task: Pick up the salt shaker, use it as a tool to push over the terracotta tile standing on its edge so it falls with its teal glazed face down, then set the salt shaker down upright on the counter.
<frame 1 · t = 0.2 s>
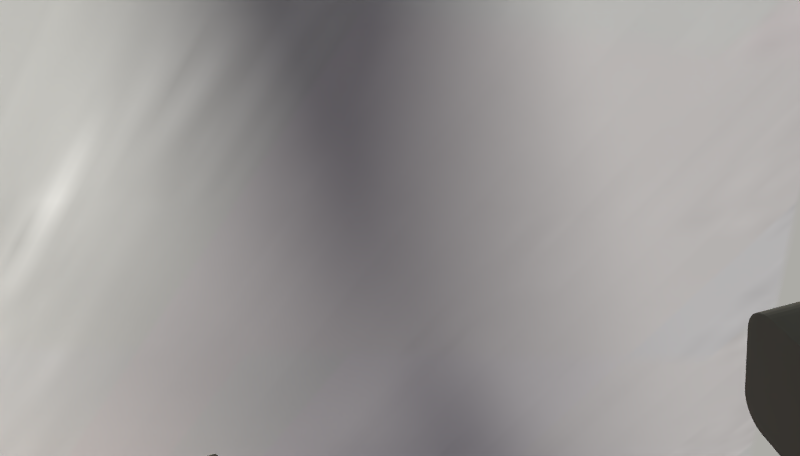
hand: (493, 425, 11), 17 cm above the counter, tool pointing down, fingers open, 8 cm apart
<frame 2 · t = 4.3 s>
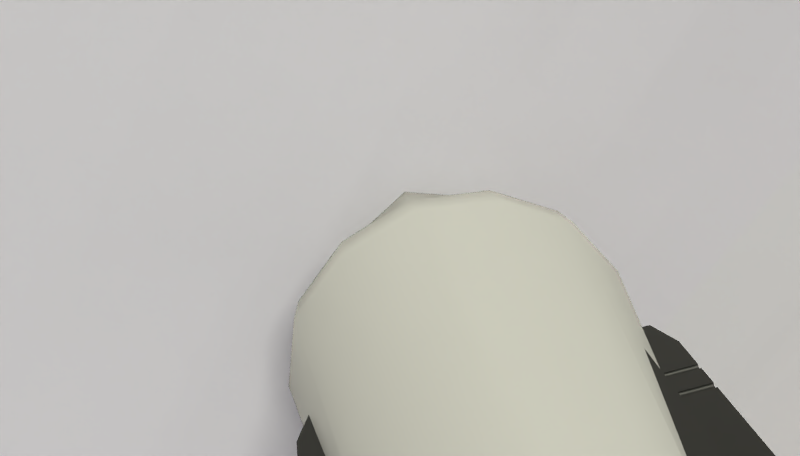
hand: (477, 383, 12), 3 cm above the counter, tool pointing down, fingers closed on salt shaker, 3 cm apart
salt shaker: (431, 277, 15), on the counter, touching gripper
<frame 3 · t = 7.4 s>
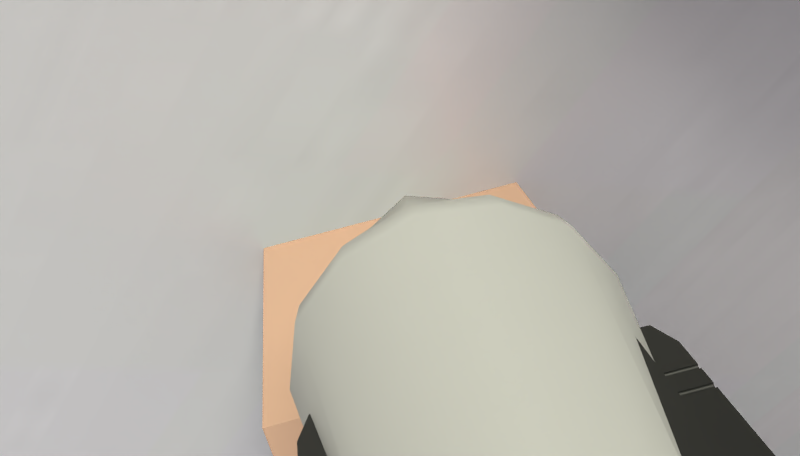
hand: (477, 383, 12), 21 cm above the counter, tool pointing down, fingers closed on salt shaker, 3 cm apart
tile: (395, 233, 34), on the counter
salt shaker: (431, 280, 15), point 18 cm above the counter, touching gripper
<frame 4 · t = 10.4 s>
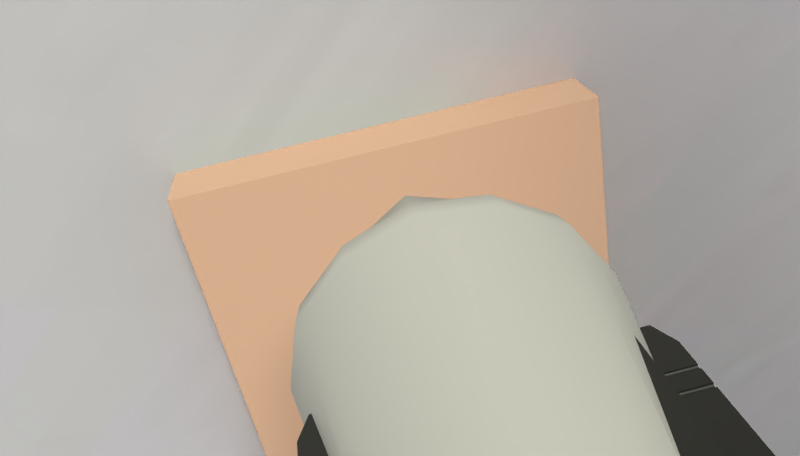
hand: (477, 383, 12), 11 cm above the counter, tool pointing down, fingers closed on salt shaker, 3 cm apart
tile: (381, 135, 21), point 1 cm above the counter, tilted 90°
salt shaker: (432, 280, 15), point 8 cm above the counter, touching gripper
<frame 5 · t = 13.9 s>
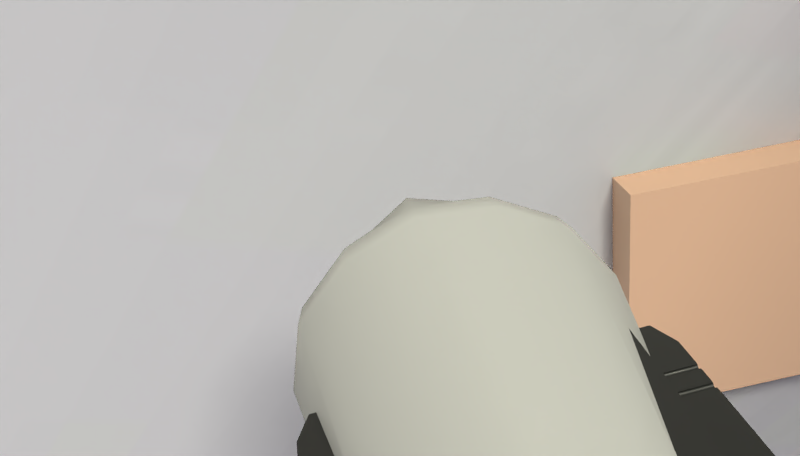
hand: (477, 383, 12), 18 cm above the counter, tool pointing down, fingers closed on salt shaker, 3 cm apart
tile: (754, 158, 31), point 1 cm above the counter, tilted 90°
salt shaker: (433, 281, 15), point 15 cm above the counter, touching gripper
when the fingers open (4 cm above the counter, at t = 17.1 s): salt shaker drops 1 cm, on the counter.
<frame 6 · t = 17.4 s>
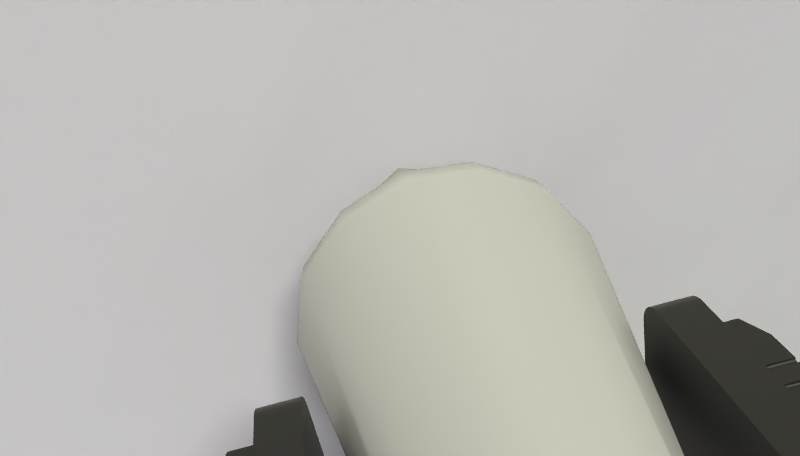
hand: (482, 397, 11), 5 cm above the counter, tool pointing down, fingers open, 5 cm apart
salt shaker: (425, 247, 16), on the counter
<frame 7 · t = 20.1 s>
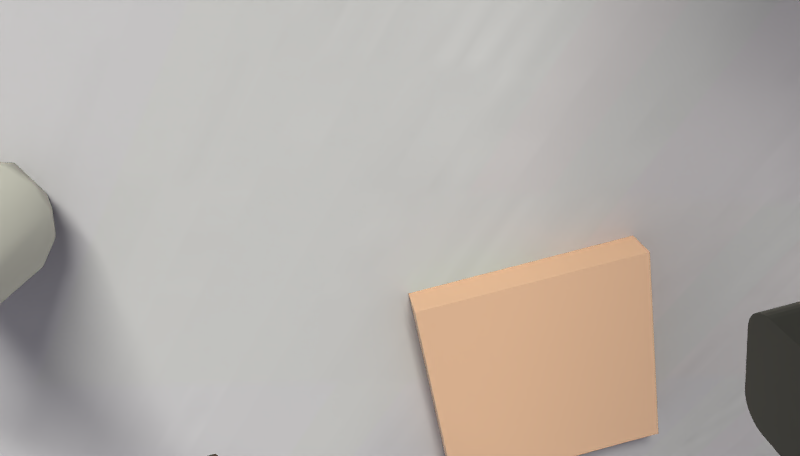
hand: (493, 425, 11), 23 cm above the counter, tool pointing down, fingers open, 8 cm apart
tile: (526, 272, 37), point 1 cm above the counter, tilted 90°
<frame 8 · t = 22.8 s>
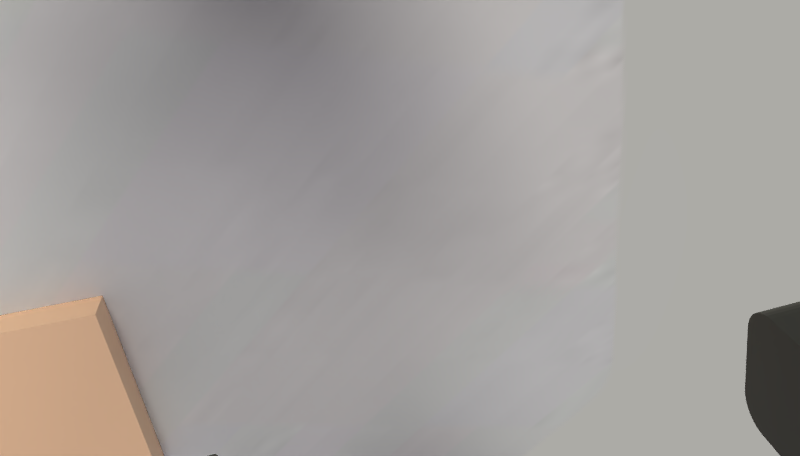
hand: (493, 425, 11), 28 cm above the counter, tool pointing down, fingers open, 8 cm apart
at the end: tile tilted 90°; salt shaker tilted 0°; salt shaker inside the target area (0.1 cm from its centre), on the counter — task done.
